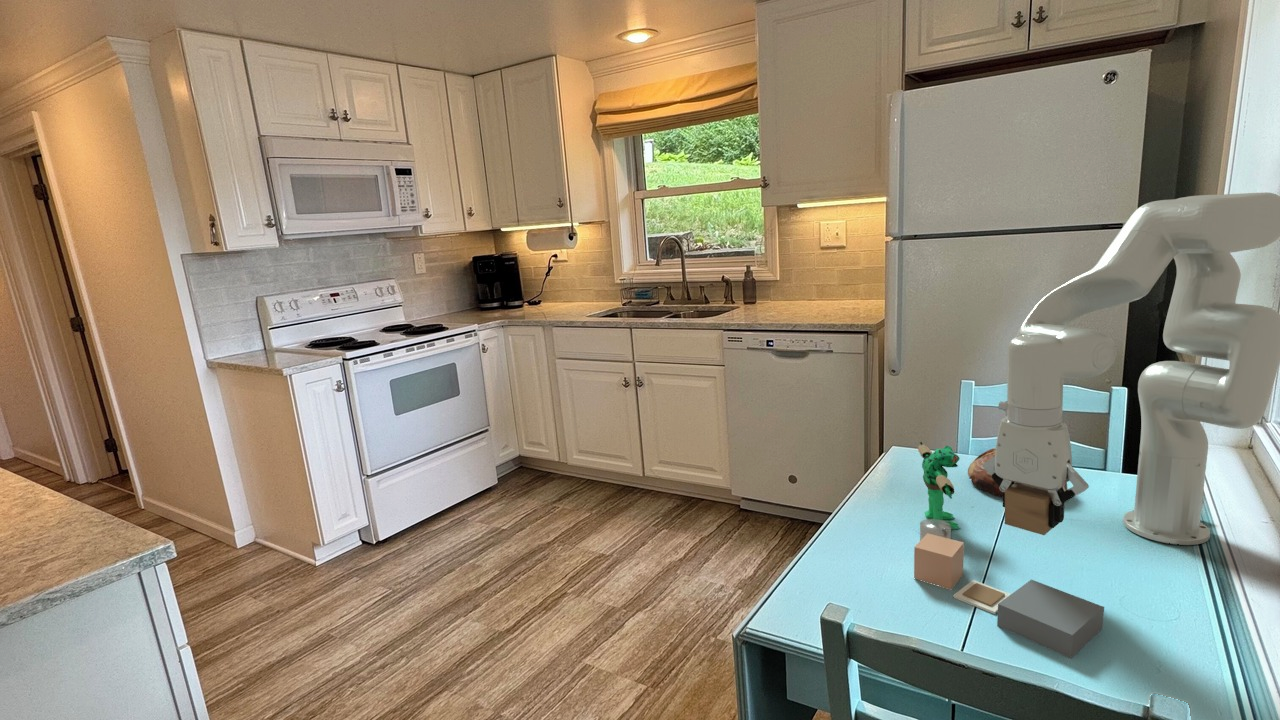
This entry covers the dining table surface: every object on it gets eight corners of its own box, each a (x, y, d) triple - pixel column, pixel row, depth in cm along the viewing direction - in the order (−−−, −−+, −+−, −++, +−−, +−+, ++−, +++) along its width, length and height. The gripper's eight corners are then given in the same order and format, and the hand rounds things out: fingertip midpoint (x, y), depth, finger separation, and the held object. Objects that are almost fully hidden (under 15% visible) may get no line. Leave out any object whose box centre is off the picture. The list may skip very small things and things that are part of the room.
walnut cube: (1021, 510, 113) (1021, 478, 112) (1060, 521, 108) (1061, 487, 107) (1004, 524, 110) (1004, 490, 108) (1044, 535, 105) (1045, 500, 104)
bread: (1055, 516, 134) (1058, 470, 131) (954, 492, 148) (954, 450, 145) (1078, 485, 144) (1080, 442, 142) (981, 465, 158) (982, 426, 156)
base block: (1030, 602, 105) (1031, 579, 104) (1102, 631, 97) (1104, 606, 96) (997, 627, 99) (998, 603, 99) (1070, 661, 91) (1072, 635, 91)
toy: (976, 554, 119) (979, 476, 116) (937, 553, 121) (939, 475, 118) (942, 495, 144) (943, 429, 141) (910, 495, 145) (911, 429, 142)
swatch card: (973, 582, 111) (973, 578, 111) (1014, 597, 106) (1014, 593, 106) (953, 597, 107) (953, 593, 107) (994, 614, 102) (994, 610, 102)
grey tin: (928, 546, 123) (929, 516, 122) (955, 555, 119) (956, 524, 118) (914, 556, 120) (914, 525, 119) (940, 566, 117) (941, 534, 115)
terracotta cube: (926, 564, 117) (927, 533, 116) (962, 574, 113) (963, 542, 112) (914, 579, 113) (914, 547, 112) (951, 590, 109) (951, 557, 108)
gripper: (967, 410, 110) (968, 511, 114) (1087, 431, 96) (1082, 544, 100) (989, 399, 114) (989, 496, 118) (1106, 416, 100) (1102, 526, 104)
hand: (1032, 517), depth 109 cm, fingers closed on walnut cube, 6 cm apart
